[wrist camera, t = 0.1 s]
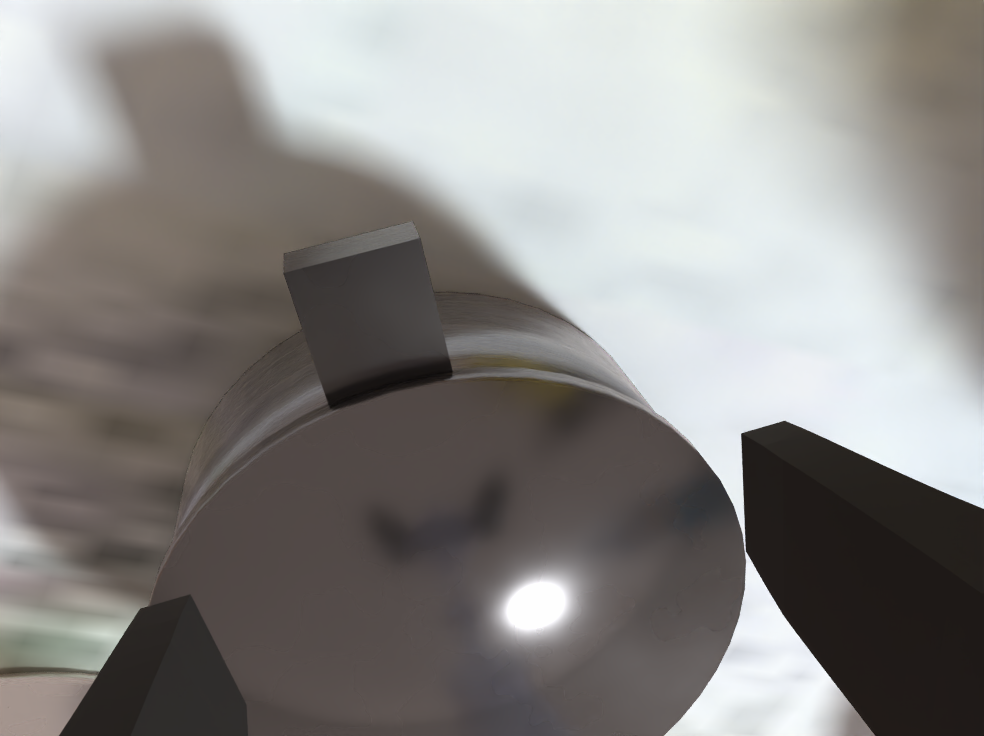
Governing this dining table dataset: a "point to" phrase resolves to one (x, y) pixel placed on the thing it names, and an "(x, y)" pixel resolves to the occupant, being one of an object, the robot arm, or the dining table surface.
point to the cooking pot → (449, 521)
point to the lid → (40, 701)
